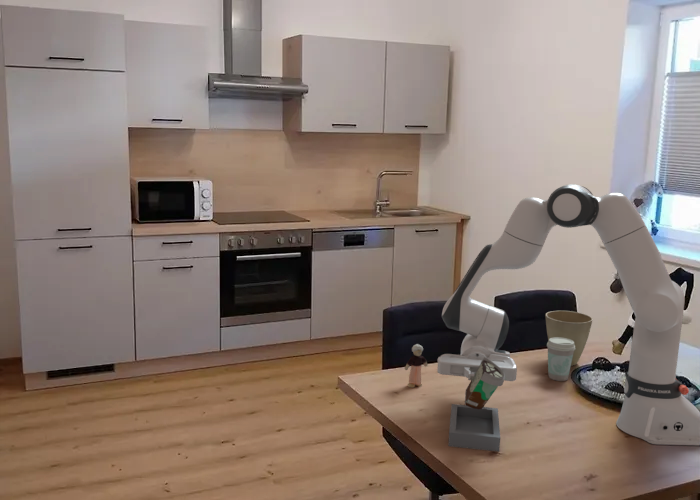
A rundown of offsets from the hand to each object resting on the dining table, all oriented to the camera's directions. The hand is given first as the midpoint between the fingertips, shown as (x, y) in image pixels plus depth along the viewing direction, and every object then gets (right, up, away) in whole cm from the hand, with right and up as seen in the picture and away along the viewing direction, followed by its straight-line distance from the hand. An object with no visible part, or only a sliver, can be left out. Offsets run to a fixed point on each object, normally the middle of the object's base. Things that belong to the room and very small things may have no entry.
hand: (476, 378), depth 171 cm
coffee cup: (+33, -8, +42) cm, 55 cm away
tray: (-1, -14, +1) cm, 14 cm away
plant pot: (+40, -6, +57) cm, 70 cm away
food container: (0, -6, 0) cm, 6 cm away
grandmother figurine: (-12, -8, +32) cm, 35 cm away
